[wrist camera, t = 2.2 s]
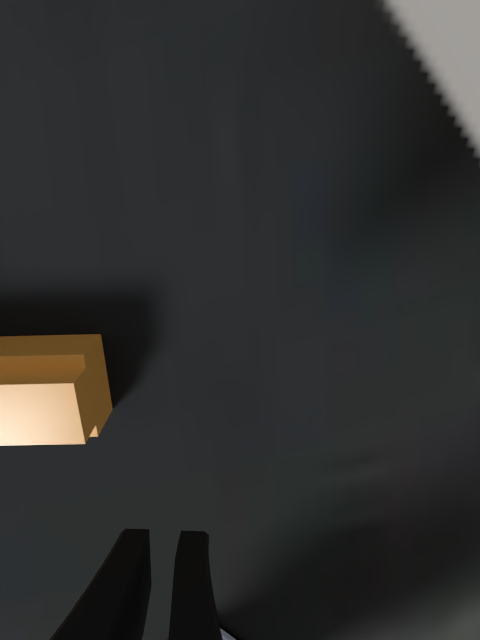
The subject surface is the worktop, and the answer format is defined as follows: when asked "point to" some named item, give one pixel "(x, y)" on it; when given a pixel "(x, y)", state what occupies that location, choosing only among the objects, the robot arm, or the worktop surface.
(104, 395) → the tan stepped block
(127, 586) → the robot arm
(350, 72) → the worktop surface
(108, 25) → the worktop surface
